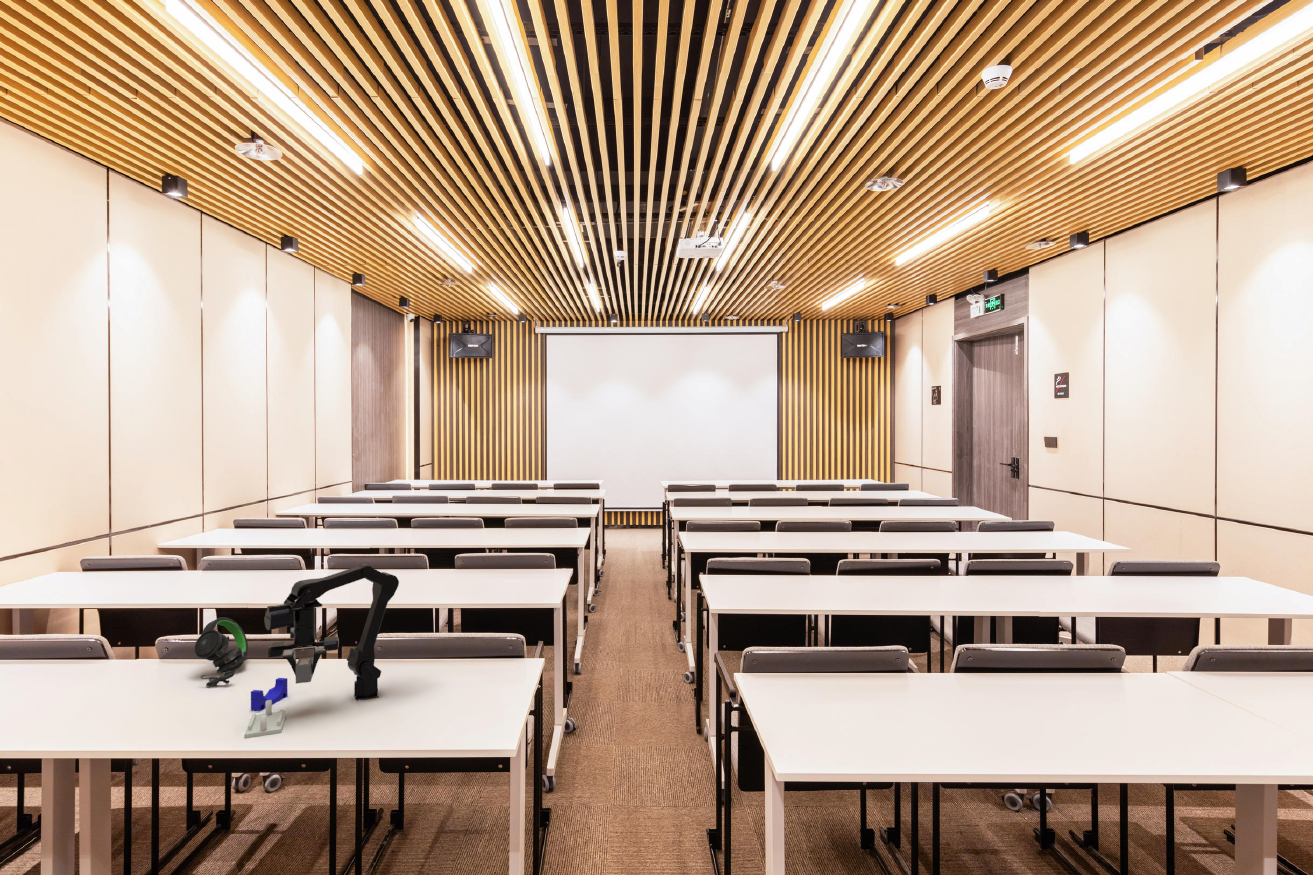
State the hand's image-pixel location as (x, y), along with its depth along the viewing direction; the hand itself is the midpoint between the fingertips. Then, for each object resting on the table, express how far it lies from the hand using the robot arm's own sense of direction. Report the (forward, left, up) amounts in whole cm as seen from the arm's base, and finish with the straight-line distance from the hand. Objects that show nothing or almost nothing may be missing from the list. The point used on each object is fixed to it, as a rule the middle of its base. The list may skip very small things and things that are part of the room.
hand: (304, 674), depth 209 cm
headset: (+27, -48, -12) cm, 56 cm away
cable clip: (+11, -13, -12) cm, 21 cm away
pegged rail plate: (+10, +6, -12) cm, 16 cm away
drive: (0, 0, -1) cm, 1 cm away
